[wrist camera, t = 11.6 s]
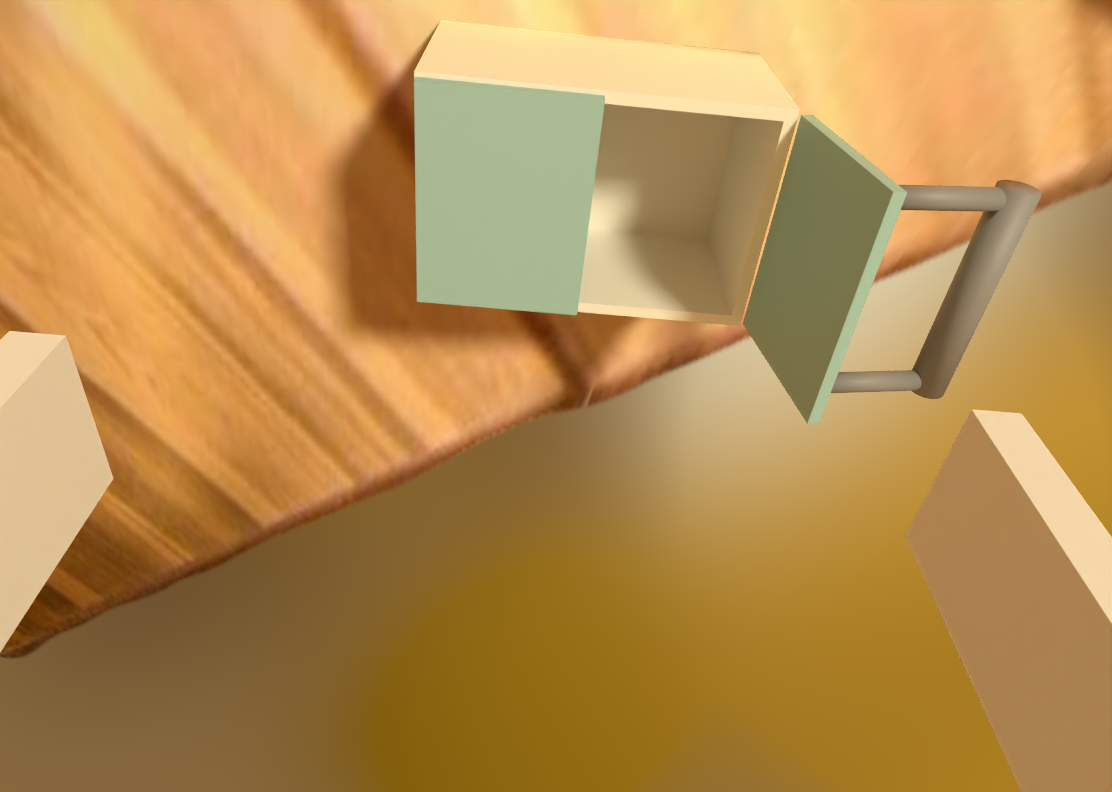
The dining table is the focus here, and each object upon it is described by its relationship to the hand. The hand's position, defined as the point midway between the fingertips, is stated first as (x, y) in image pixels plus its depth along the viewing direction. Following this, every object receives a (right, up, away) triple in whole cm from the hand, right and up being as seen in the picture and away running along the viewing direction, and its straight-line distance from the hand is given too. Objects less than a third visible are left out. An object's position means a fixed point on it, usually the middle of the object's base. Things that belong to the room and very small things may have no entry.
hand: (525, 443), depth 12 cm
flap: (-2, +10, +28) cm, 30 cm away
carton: (+2, +16, +36) cm, 40 cm away
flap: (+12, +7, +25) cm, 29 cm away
